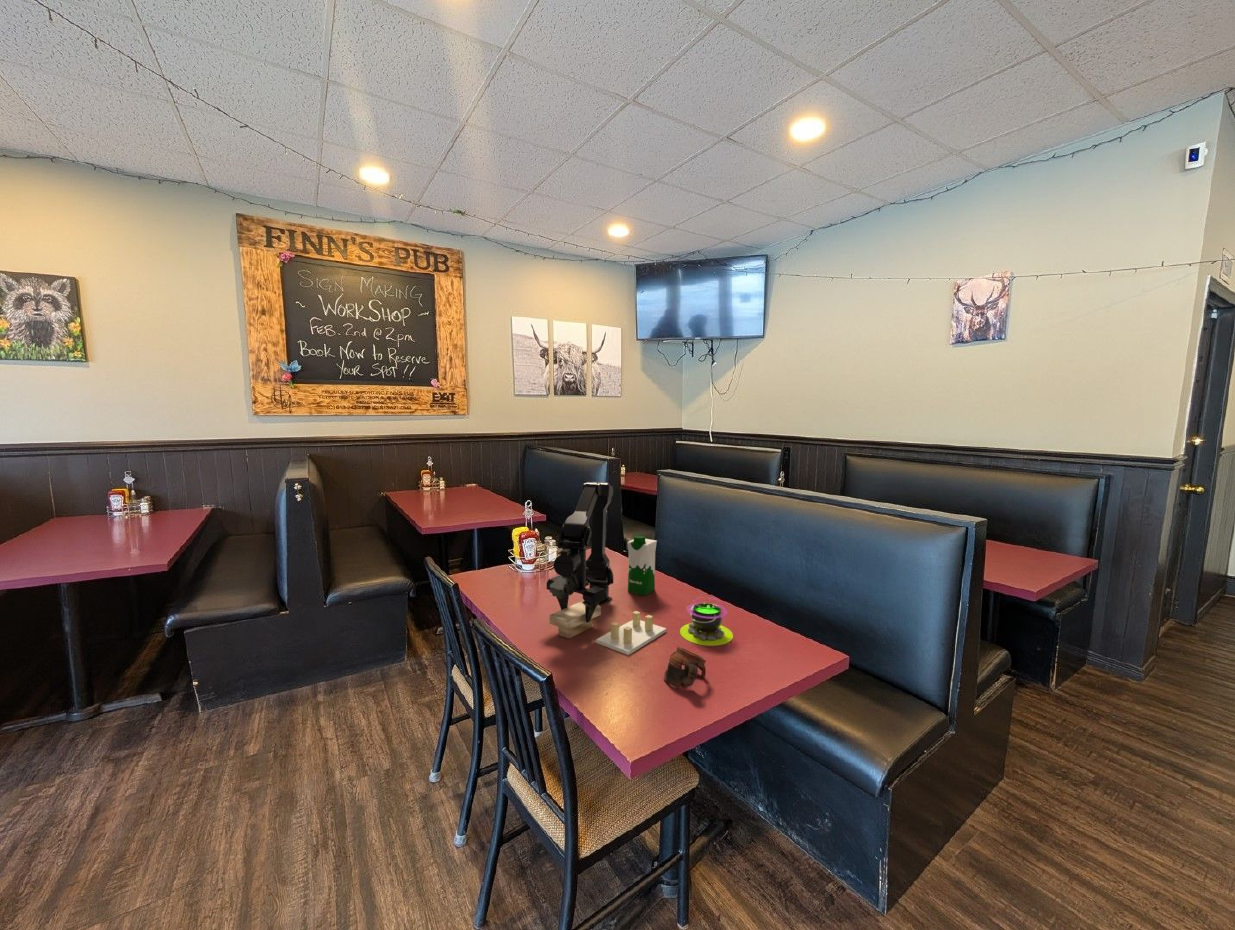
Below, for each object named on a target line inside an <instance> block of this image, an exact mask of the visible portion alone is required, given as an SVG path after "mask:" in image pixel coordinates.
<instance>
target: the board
mask: <svg viewBox="0 0 1235 930" xmlns="http://www.w3.org/2000/svg"><path fill="white" fill-rule="evenodd" d="M583 601H584V600H581V601H579V602H577V603H574V604H572V605H569V606H567V608H565V609H562V610H561V609H560V610H558V611H555V612H554V613H551V614H549V617H548V618H549V624H550V625H552V626H555V627H557V628H558V627H560V628H562V629H565V630H567V631H568V630H570V629H572V628H574V627H576V626H578V625H580V624H582V623H584V622H586V616H585V605H584V604H583V603H582V602H583ZM598 616H602V606H601V605H599V604H598V605H597V607H596V609H595V611H594V613H593V615H592V617H591V619H594V618H596V617H598Z"/></svg>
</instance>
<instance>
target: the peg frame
mask: <svg viewBox="0 0 1235 930" xmlns="http://www.w3.org/2000/svg"><path fill="white" fill-rule="evenodd" d="M665 633H667V628H666V627H662V626H660V625H657V624H654V616H653V615H650V614H647V615H645V616H644V620H641V612H640V611H637V610H635V611H633V612H632V620H630V621H628V622H626V623H624V624H623V625H621V626H620V623H619V622H616V621H615V622H612V623H610V631H609V632H607V633H605V634H604V635H602V636H600V637H598V638H596V639H595V641H596V642H595V643H596V644H598V645H601V646H604V647H606V648H609V649H612V650H614V651H616V652H618V653H622V654H624V655H627V656H630V655H631V654H633V653H634V652H637V651H638V650H639V649H641V648H642V647H644V646H645V645H647V644H648V643H650V642H652V641H654V640H655V639H657V638H659V637H660V636H662V635H664V634H665Z"/></svg>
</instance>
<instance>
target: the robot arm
mask: <svg viewBox="0 0 1235 930" xmlns="http://www.w3.org/2000/svg"><path fill="white" fill-rule="evenodd" d="M582 486H583V487H582V493H581V495H580V498H579V500H578V503H577V505H576V507H575V510H574V512H573V514H571V515H569V516H567V518H566V520H565V521H564V523H563V525H562V526H561V529H560V533H559V537H558V542H557V549H561V550H560V555H558V556H556V558H554V561H553V562H552V563H553V564H552V566H553V569H554V571H555V573H556V574H557V576H554V577H551V578H549V579H548V580H547V581H546V590H548V591H549V593H551V596H553V597H555V598H556V599H557V602H558V604H559V608H560V610H562V609H565V608H567V607H569V606H568V605H569V597H570V596H572V595H574V593H575V594H576V593H577V594H580V595H582V599H583V600H582V601H583V602H582V603H583V604H584V605H585V616H586V622H587V623H588V622H590V620H591V617H592V615H593V613H594V611H595V609H596V607H597V605H598V606H601V605H602V604H605V603H607V602H609V601H612V600H613V597H611V596H609V591H610V590H609V587H610V586H611V585H613V584H614V572H613V569H612V567H611V566H610V559H609V557H608V556H607V554H606V527H607V526H606V525H607V523H606V522H607V508H608V507H609V505H610V503H611V502H612V497H613V496H614V486H613V485H611V484H610V482H602V481H601V482H600V481H589V482H588V481H587V482H584V483H583V485H582ZM590 518H591V527H590ZM590 541H591V542H590ZM589 544H590V555H588V558H587V547H588V546H589ZM587 586H589V588H587Z"/></svg>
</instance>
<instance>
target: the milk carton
mask: <svg viewBox="0 0 1235 930" xmlns="http://www.w3.org/2000/svg"><path fill="white" fill-rule="evenodd" d="M657 542H658V540H655V539H649V538H646V536H645V535H643V534H642V535H641V534H637V535H633V539H631V540H628V541H627V550H628V562H627V564H628V566H627V567H628V568H627V569H628V570H627V572H628V574H627V592H628V593H631V594H636V595H640V596H644V597H646V596H648V595H649V594H651V593H652V592H654V591H655V590H656V580H655V579H656V578H655V577H656V575H655V574H656V550H657V549H656V548H657Z"/></svg>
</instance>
